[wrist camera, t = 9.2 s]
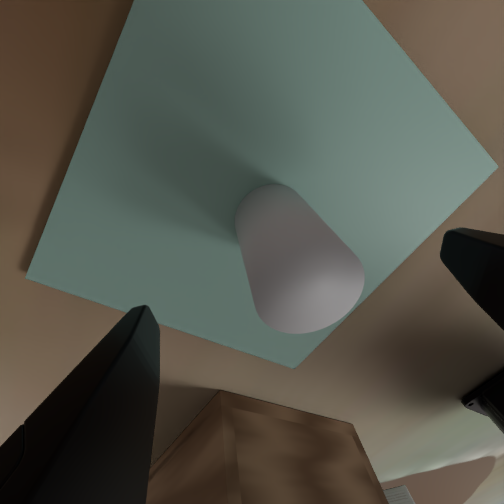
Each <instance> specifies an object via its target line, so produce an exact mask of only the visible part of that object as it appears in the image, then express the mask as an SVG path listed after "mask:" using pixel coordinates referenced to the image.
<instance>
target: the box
mask: <svg viewBox="0 0 504 504" xmlns="http://www.w3.org/2000/svg"><path fill="white" fill-rule="evenodd" d="M146 504H389V503H388V501H387V498H386V496H385V494H384V492H383V490H382V488H381V485H380V483H379V481H378V479H377V476H376V474H375V472H374V470H373V468H372V466H371V463H370V461H369V459H368V457H367V455H366V452H365V450H364V448H363V446H362V444H361V441H360V439H359V437H358V435H357V433H356V430H355V428H354V426H353V424H349V423H345V422H341V421H337V420H334V419H330V418H326V417H322V416H318V415H314V414H310V413H307V412H303V411H299V410H295V409H291V408H287V407H283V406H280V405H276V404H272V403H268V402H264V401H260V400H256V399H253V398H249V397H245V396H241V395H237V394H233V393H230V392H226V391H222V390H220V391H219V392H218V393H217V394H216V395H215V397H214V398H213V399H212V400H211V401H210V402H209V403H208V404H207V405H206V407H205V408H204V409H203V410H202V411H201V412H200V413H199V414H198V415H197V417H196V418H195V419H194V420H193V421H192V422H191V423H190V424H189V426H188V427H187V428H186V429H185V430H184V431H183V432H182V433H181V434H180V436H179V437H178V438H177V439H176V440H175V441H174V442H173V443H172V445H171V446H170V447H169V448H168V449H167V450H166V451H165V452H164V453H163V455H162V456H161V457H160V458H159V459H158V460H157V461H156V462H155V463H154V465H153V466H152V467H151V468H150V472H149V480H148V489H147V498H146Z"/></svg>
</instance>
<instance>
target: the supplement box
mask: <svg viewBox="0 0 504 504" xmlns="http://www.w3.org/2000/svg"><path fill="white" fill-rule="evenodd" d="M383 492H384V494H385V496H386V498H387V501H388V503H389V504H415V502H414V501H413V499H412V497H411V495H410V493H409V491H408V489H407V488H406V486H405V485H403V486H399V487H396V488H391V489H386V490H383Z"/></svg>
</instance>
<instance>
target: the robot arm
mask: <svg viewBox="0 0 504 504" xmlns="http://www.w3.org/2000/svg"><path fill="white" fill-rule="evenodd" d="M440 258H441V260H442V262H443V263H444V264H445V266H446V267H447V268H448V269H449V271H450V272H451V273H452V274H453V275H454V277H455V278H456V279H457V280H458V282H459V283H460V284H461V285H462V286H463V288H464V289H465V290H466V291H467V293H468V294H469V295H470V296H471V297H472V298H473V300H474V301H475V302H476V303H477V304H478V305H479V306H480V307H481V308H482V309H483V310H484V311H485V312H486V313H487V314H488V315H489V316H490V317H491V318H492V319H493V320H494V321H495V322H496V323H497V324H498V325H499V326H500V327H501V328H502V329H503V330H504V235H503V234H497V233H491V232H485V231H480V230H474V229H468V228H456V229H452V230H448V231H447V232H446V233H445V234H444V237H443V242H442V246H441V251H440ZM159 383H160V330H159V325H158V323H157V321H156V319H155V317H154V315H153V313H152V311H151V309H150V307H149V306H148V305H141V306H136V307H133V308H131V309H130V310H129V311H128V312H127V314H126V315H125V316H124V317H123V318H122V319H121V320H120V321H119V322H118V323H117V324H116V325H115V326H114V327H113V328H112V329H111V330H110V331H109V333H108V334H107V335H106V336H105V337H104V338H103V339H102V340H101V341H100V342H99V343H98V344H97V345H96V346H95V347H94V348H93V349H92V350H91V352H90V353H89V354H88V355H87V356H86V357H85V358H84V359H83V360H82V361H81V362H80V363H79V364H78V365H77V366H76V367H75V368H74V369H73V371H72V372H71V373H70V374H69V375H68V376H67V377H66V378H65V379H64V380H63V381H62V382H61V383H60V384H59V385H58V386H57V387H56V388H55V389H54V391H53V392H52V393H51V394H50V395H49V396H48V397H47V398H46V399H45V400H44V401H43V402H42V403H41V404H40V405H39V406H38V407H37V408H36V410H35V411H34V412H33V413H32V414H31V415H30V416H29V417H28V418H27V419H26V420H25V421H24V424H22V425H20V426H19V427H18V428H17V429H16V431H15V432H14V433H13V434H12V435H11V436H10V437H9V438H8V439H7V440H6V441H5V442H4V443H3V444H2V445H1V446H0V504H146V498H147V489H148V480H149V472H150V463H151V454H152V445H153V437H154V428H155V419H156V411H157V402H158V393H159ZM462 404H463V405H464V406H465V407H466V408H468V409H470V410H473V411H475V412H478V413H480V414H483V415H485V416H488V417H489V418H490V419H491V420H492V421H493V422H494V423H495V424H496V426H497V427H498V428H499V429H500V430H501V431H502V432H503V433H504V371H503V372H502V373H500V374H499V375H498V376H496V377H495V378H493V379H492V380H490V381H489V382H488V383H486V384H485V385H483V386H482V387H480V388H479V389H478V390H476V391H475V392H473V393H472V394H470V395H469V396H467V397H466V398H465V399H463V400H462Z"/></svg>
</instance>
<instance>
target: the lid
mask: <svg viewBox="0 0 504 504" xmlns="http://www.w3.org/2000/svg"><path fill="white" fill-rule="evenodd" d="M497 168H498V165H497V164H496V163H495V162H494V161H493V159H492V158H491V157H490V156H489V154H488V153H487V152H486V151H485V150H484V148H483V147H482V146H481V145H480V143H479V142H478V141H477V140H476V139H475V137H474V136H473V135H472V134H471V133H470V131H469V130H468V129H467V128H466V126H465V125H464V124H463V123H462V122H461V120H460V119H459V118H458V117H457V115H456V114H455V113H454V112H453V111H452V109H451V108H450V107H449V106H448V104H447V103H446V102H445V101H444V100H443V98H442V97H441V96H440V95H439V94H438V92H437V91H436V90H435V89H434V87H433V86H432V85H431V84H430V83H429V81H428V80H427V79H426V78H425V76H424V75H423V74H422V73H421V72H420V70H419V69H418V68H417V67H416V65H415V64H414V63H413V62H412V61H411V59H410V58H409V57H408V56H407V55H406V53H405V52H404V51H403V50H402V48H401V47H400V46H399V45H398V44H397V42H396V41H395V40H394V39H393V37H392V36H391V35H390V34H389V33H388V31H387V30H386V29H385V28H384V27H383V25H382V24H381V23H380V22H379V20H378V19H377V18H376V17H375V16H374V14H373V13H372V12H371V11H370V9H369V8H368V7H367V6H366V5H365V3H364V2H363V1H362V0H134V2H133V5H132V7H131V10H130V12H129V15H128V17H127V20H126V22H125V25H124V28H123V30H122V33H121V35H120V38H119V40H118V43H117V45H116V48H115V50H114V53H113V56H112V58H111V61H110V63H109V66H108V68H107V71H106V73H105V76H104V78H103V81H102V84H101V86H100V89H99V91H98V94H97V96H96V99H95V101H94V104H93V106H92V109H91V112H90V114H89V117H88V119H87V122H86V124H85V127H84V129H83V132H82V134H81V137H80V140H79V142H78V145H77V147H76V150H75V152H74V155H73V157H72V160H71V162H70V165H69V168H68V170H67V173H66V175H65V178H64V180H63V183H62V185H61V188H60V190H59V193H58V196H57V198H56V201H55V203H54V206H53V208H52V211H51V213H50V216H49V218H48V221H47V224H46V226H45V229H44V231H43V234H42V236H41V239H40V241H39V244H38V246H37V249H36V252H35V254H34V257H33V259H32V262H31V264H30V267H29V269H28V272H27V274H26V277H25V279H28V280H31V281H34V282H37V283H40V284H43V285H46V286H49V287H52V288H55V289H58V290H61V291H64V292H67V293H70V294H73V295H76V296H79V297H82V298H85V299H88V300H91V301H94V302H97V303H100V304H103V305H106V306H108V307H111V308H114V309H117V310H120V311H123V312H126V313H127V312H128V311H129V310H130V309H131V308H133V307H136V306H141V305H148V306H149V307H150V309H151V311H152V313H153V315H154V317H155V319H156V321H157V323H159V324H162V325H165V326H168V327H171V328H174V329H177V330H180V331H183V332H186V333H189V334H192V335H195V336H198V337H200V338H203V339H206V340H209V341H212V342H215V343H218V344H221V345H224V346H227V347H230V348H233V349H236V350H239V351H242V352H245V353H248V354H251V355H254V356H257V357H260V358H263V359H266V360H269V361H272V362H275V363H278V364H281V365H284V366H287V367H289V368H292V369H295V368H296V367H297V366H298V365H299V364H300V363H301V362H302V361H303V360H304V359H305V358H306V357H307V356H308V355H309V354H310V353H311V352H312V351H313V350H314V349H315V348H316V347H317V346H318V345H319V344H320V343H321V342H322V341H323V340H324V339H325V338H326V337H327V336H328V335H329V334H330V333H331V332H332V331H333V330H334V329H335V328H336V327H337V326H338V325H339V324H340V323H341V322H342V321H344V320H345V319H346V318H347V317H348V316H349V315H350V314H351V313H352V312H353V311H354V310H355V309H356V308H357V307H358V306H359V305H360V304H361V303H362V302H363V301H364V300H365V299H366V298H367V297H368V296H369V295H370V294H371V293H372V292H373V291H374V290H375V289H376V288H377V287H378V286H379V285H380V284H381V283H382V282H383V281H384V280H385V279H386V278H387V277H388V276H389V275H390V274H391V273H392V272H393V271H394V270H395V269H396V268H397V267H398V266H399V265H400V264H401V263H402V262H403V261H404V260H405V259H406V258H407V257H408V256H409V255H410V254H411V253H412V252H413V251H414V250H415V249H416V248H417V247H418V246H419V245H420V244H421V243H422V242H423V241H424V240H425V239H426V238H427V237H428V236H429V235H430V234H431V233H432V232H433V231H434V230H435V229H436V228H437V227H438V226H440V225H441V224H442V223H443V222H444V221H445V220H446V219H447V218H448V217H449V216H450V215H451V214H452V213H453V212H454V211H455V210H456V209H457V208H458V207H459V206H460V205H461V204H462V203H463V202H464V201H465V200H466V199H467V198H468V197H469V196H470V195H471V194H472V193H473V192H474V191H475V190H476V189H477V188H478V187H479V186H480V185H481V184H482V183H483V182H484V181H485V180H486V179H487V178H488V177H489V176H490V175H491V174H492V173H493V172H494V171H495V170H496V169H497Z"/></svg>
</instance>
